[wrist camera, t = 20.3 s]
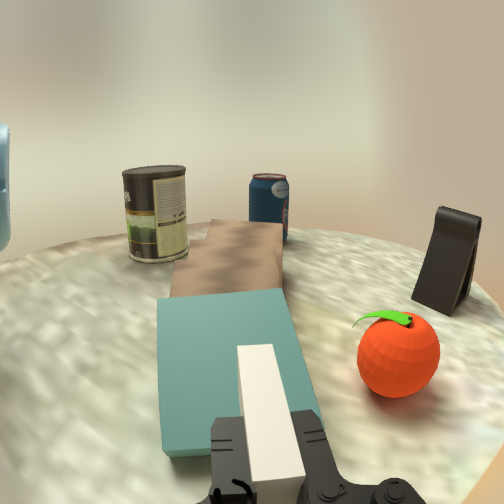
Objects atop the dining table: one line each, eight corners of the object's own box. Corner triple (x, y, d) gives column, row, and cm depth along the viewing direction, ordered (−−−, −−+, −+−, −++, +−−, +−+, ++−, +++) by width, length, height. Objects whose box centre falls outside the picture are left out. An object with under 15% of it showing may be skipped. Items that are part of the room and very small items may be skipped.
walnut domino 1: (177, 323, 29) (190, 239, 38) (181, 337, 31) (192, 254, 39) (284, 323, 29) (274, 239, 38) (281, 338, 31) (273, 254, 40)
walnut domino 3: (193, 282, 36) (211, 219, 45) (196, 296, 38) (212, 232, 47) (281, 289, 36) (282, 223, 44) (280, 303, 37) (281, 237, 46)
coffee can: (127, 266, 47) (117, 174, 42) (132, 244, 56) (126, 168, 51) (191, 260, 49) (187, 169, 44) (186, 239, 59) (183, 163, 54)
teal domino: (162, 450, 16) (157, 298, 24) (169, 457, 17) (161, 317, 26) (324, 428, 17) (281, 287, 26) (315, 437, 19) (277, 306, 28)
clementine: (323, 390, 24) (337, 318, 21) (358, 348, 29) (372, 283, 26) (411, 426, 19) (444, 355, 16) (432, 376, 24) (457, 309, 21)
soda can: (292, 246, 56) (295, 177, 52) (254, 249, 54) (255, 178, 50) (279, 234, 62) (281, 172, 58) (244, 236, 60) (244, 173, 56)
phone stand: (448, 316, 33) (471, 222, 29) (410, 299, 38) (427, 209, 33) (469, 294, 38) (487, 214, 34) (436, 280, 42) (450, 203, 38)
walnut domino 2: (161, 368, 23) (174, 259, 32) (168, 381, 25) (178, 276, 33) (291, 364, 23) (274, 256, 32) (287, 377, 25) (272, 274, 34)
